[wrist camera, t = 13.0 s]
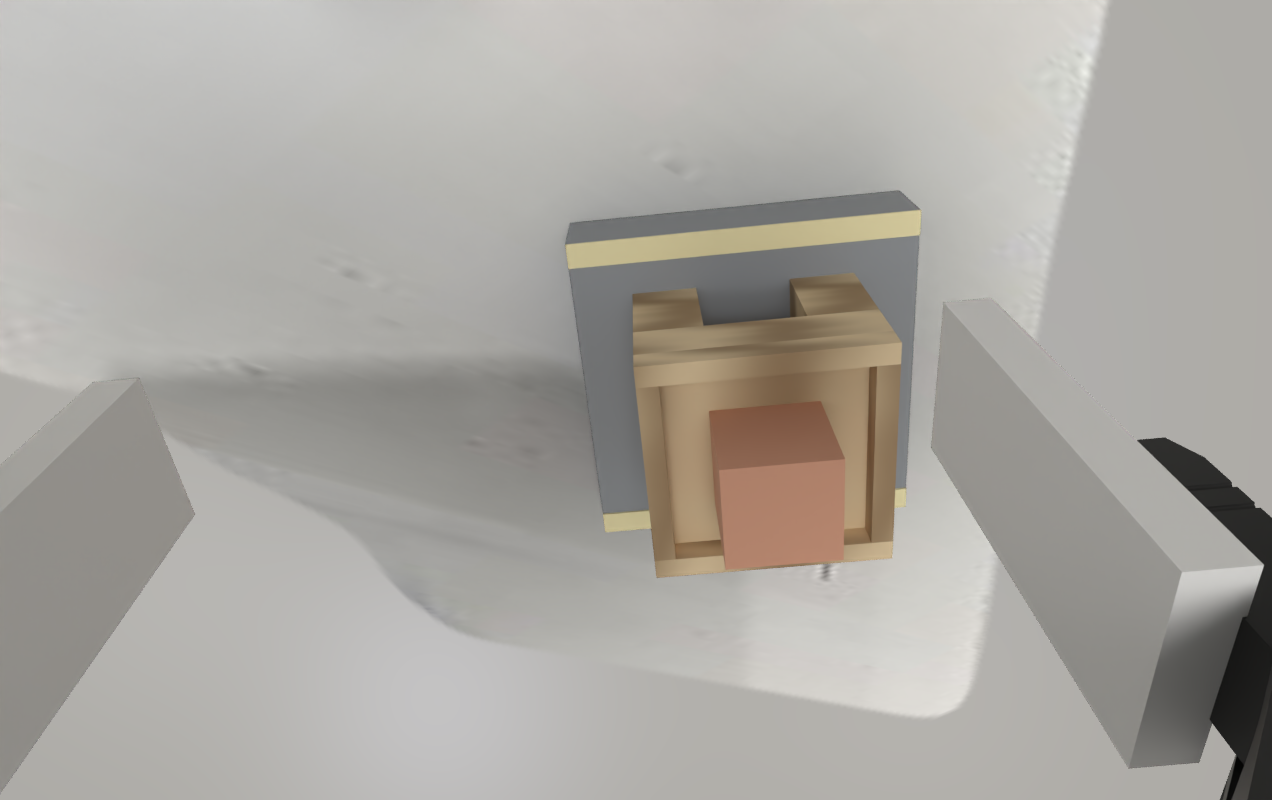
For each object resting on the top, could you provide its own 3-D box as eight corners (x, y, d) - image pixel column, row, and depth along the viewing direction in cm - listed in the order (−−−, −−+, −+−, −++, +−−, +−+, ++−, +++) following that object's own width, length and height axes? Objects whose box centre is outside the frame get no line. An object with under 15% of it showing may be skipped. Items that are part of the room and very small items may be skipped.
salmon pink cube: (715, 503, 33) (725, 569, 30) (708, 410, 31) (719, 469, 28) (820, 494, 33) (843, 560, 29) (820, 400, 31) (845, 459, 28)
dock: (606, 495, 44) (605, 532, 41) (569, 223, 37) (565, 245, 35) (887, 471, 43) (905, 506, 40) (899, 190, 37) (921, 210, 34)
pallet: (652, 479, 40) (656, 577, 34) (632, 294, 36) (633, 367, 29) (850, 461, 39) (892, 558, 33) (853, 272, 35) (902, 342, 29)
